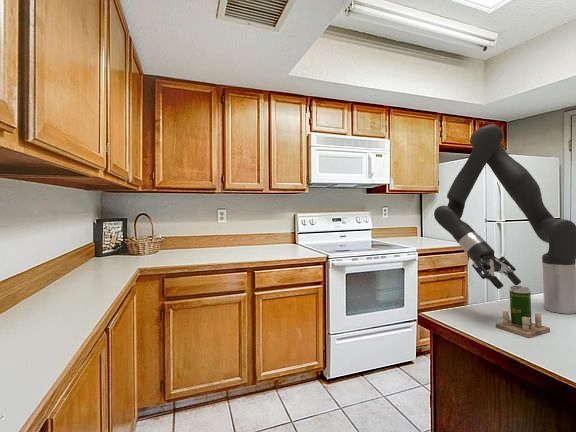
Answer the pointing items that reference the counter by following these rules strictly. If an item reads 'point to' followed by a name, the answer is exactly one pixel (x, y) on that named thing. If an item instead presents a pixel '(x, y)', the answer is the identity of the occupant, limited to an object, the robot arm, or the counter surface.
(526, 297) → the beer can
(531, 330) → the dowel holder
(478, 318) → the counter surface
